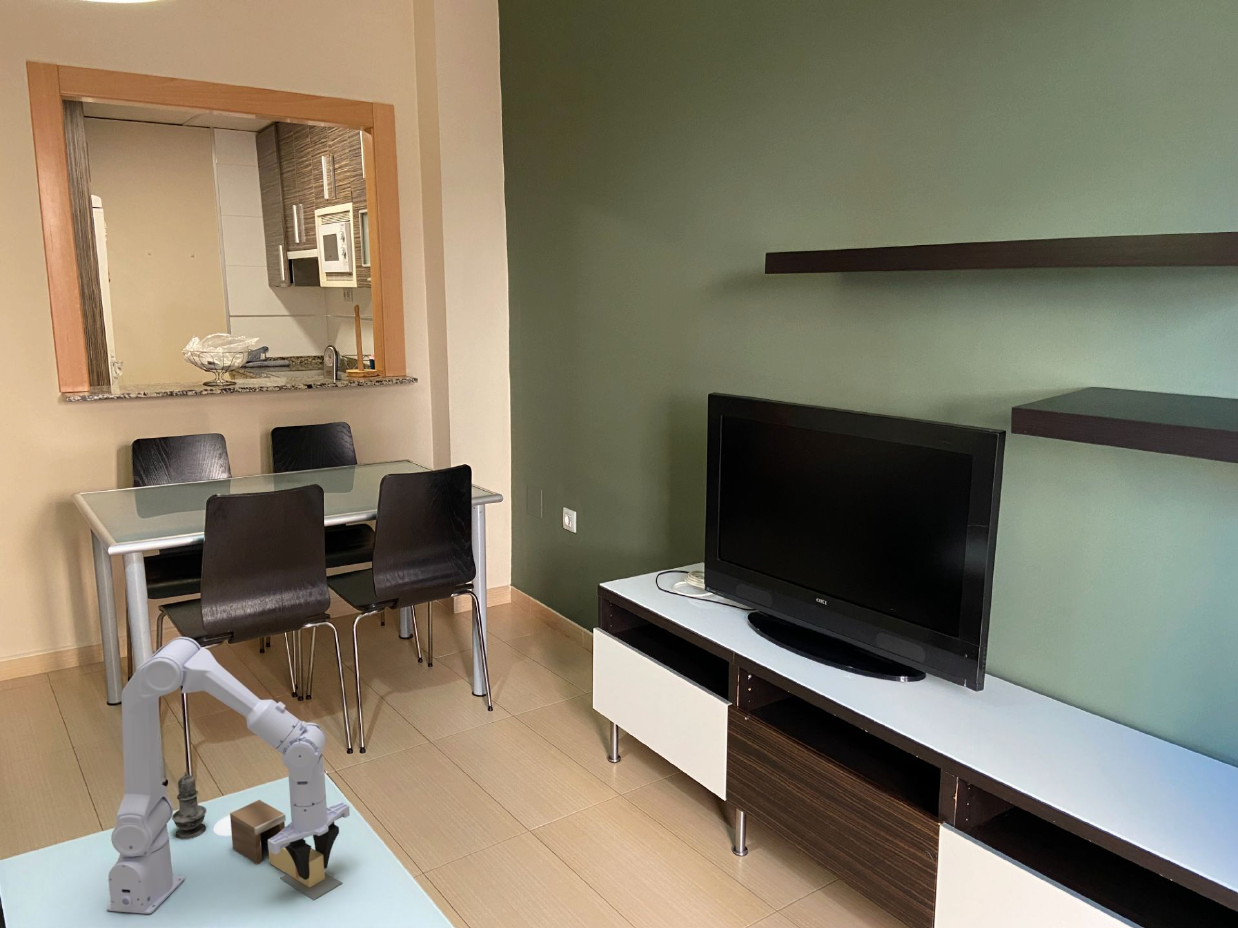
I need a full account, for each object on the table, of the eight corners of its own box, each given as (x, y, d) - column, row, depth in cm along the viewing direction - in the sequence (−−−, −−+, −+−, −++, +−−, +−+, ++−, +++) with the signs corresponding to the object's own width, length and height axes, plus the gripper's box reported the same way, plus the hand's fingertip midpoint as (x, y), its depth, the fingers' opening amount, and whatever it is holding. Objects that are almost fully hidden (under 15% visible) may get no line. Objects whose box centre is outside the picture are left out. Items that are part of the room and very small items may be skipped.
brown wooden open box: (258, 865, 158) (255, 828, 157) (232, 848, 163) (229, 813, 162) (287, 849, 163) (285, 814, 162) (262, 834, 168) (259, 799, 167)
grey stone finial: (213, 830, 169) (208, 771, 167) (181, 843, 165) (175, 783, 163) (200, 818, 173) (195, 761, 171) (168, 831, 169) (162, 772, 167)
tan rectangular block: (309, 887, 151) (307, 863, 151) (269, 863, 159) (267, 839, 158) (325, 878, 154) (323, 854, 153) (285, 854, 161) (283, 831, 160)
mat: (313, 900, 149) (313, 898, 149) (280, 878, 154) (280, 877, 154) (342, 883, 153) (342, 882, 153) (308, 862, 159) (308, 861, 159)
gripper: (283, 824, 143) (288, 902, 145) (358, 787, 154) (362, 859, 156) (258, 810, 147) (264, 886, 149) (333, 775, 158) (338, 845, 161)
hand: (313, 871), depth 153 cm, fingers closed on tan rectangular block, 3 cm apart
